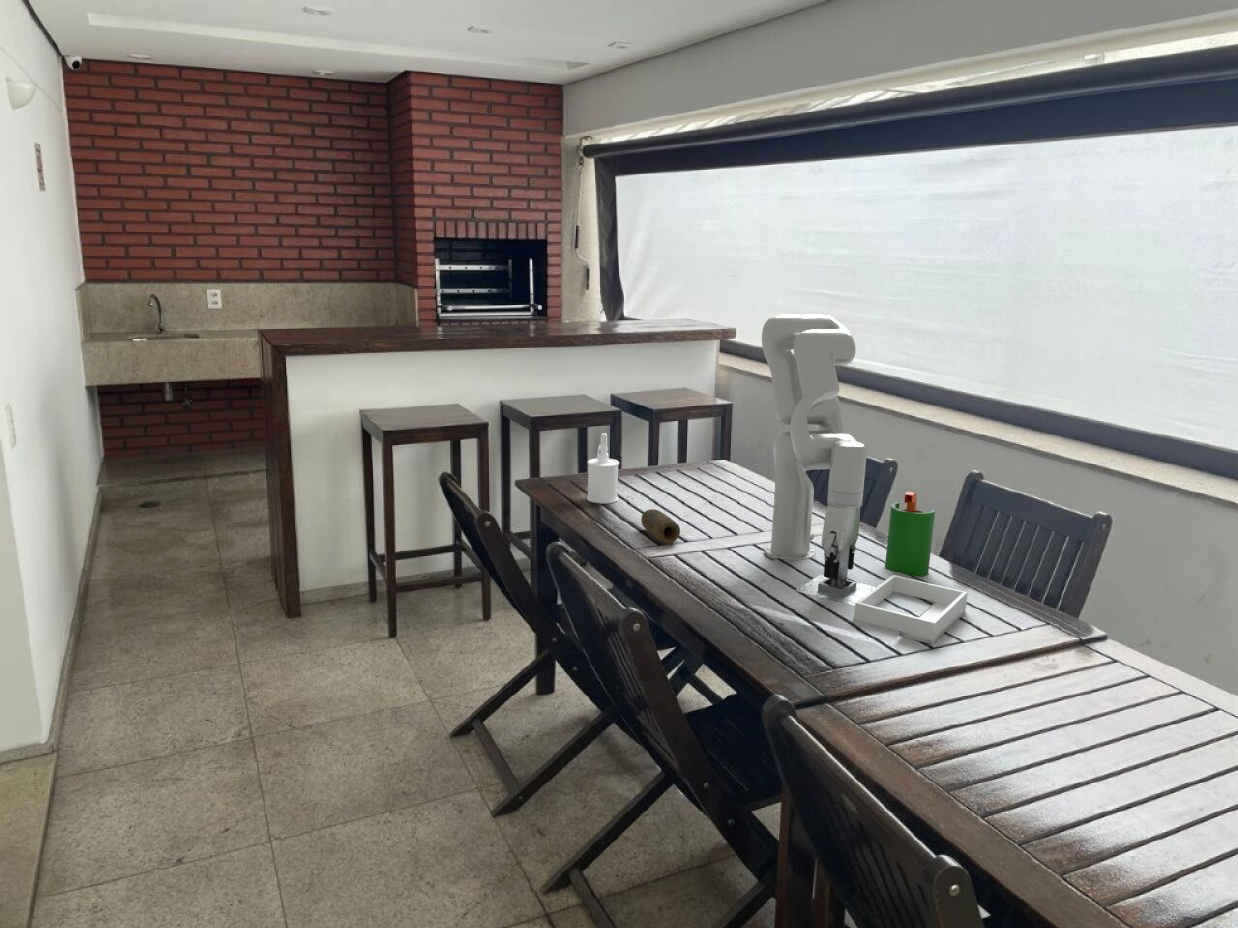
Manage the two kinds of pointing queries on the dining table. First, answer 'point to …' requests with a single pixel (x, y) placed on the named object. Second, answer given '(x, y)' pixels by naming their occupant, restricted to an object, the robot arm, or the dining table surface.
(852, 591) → the socket plate
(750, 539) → the dining table surface
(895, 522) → the motor
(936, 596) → the bin
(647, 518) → the stone weight
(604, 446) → the white spout bottle
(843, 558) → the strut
